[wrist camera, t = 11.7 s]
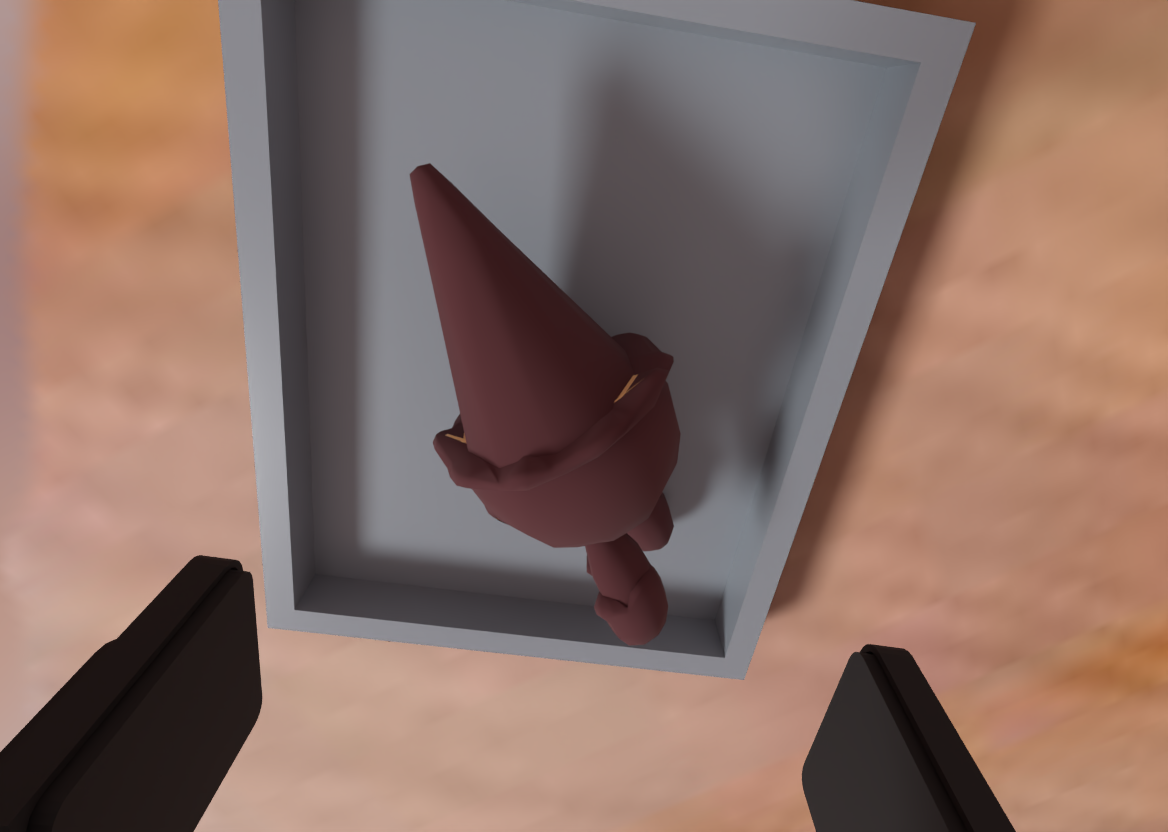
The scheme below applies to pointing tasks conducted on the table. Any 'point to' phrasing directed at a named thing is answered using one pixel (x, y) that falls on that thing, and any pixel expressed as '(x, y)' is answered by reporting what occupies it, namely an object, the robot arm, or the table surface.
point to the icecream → (551, 409)
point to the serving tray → (562, 283)
